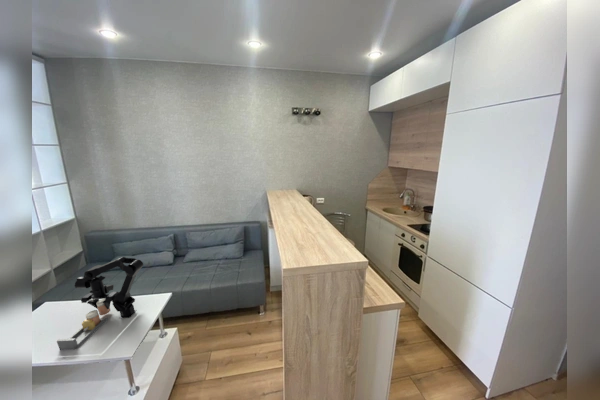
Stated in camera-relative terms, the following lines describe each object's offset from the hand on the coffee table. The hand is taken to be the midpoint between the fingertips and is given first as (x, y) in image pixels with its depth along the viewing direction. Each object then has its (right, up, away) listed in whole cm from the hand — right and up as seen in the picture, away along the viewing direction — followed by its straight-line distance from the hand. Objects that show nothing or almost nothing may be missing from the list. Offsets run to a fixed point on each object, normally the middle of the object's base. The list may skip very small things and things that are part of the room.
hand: (104, 308), depth 138 cm
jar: (0, -2, +1) cm, 2 cm away
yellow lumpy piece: (0, -7, -11) cm, 13 cm away
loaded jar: (0, -6, -6) cm, 9 cm away
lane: (+1, -8, -12) cm, 15 cm away
